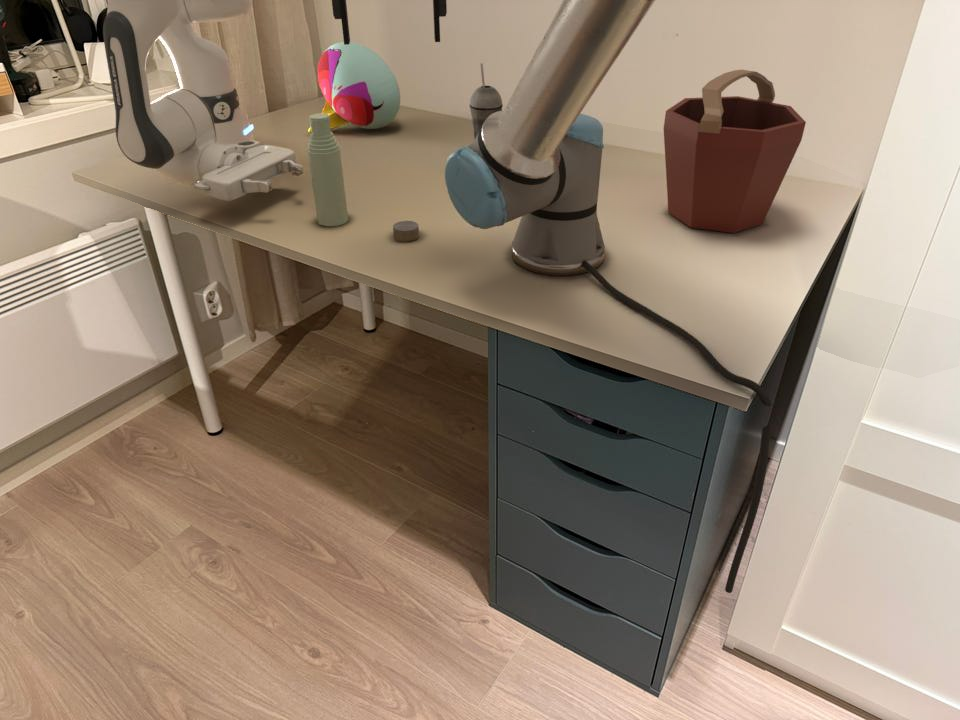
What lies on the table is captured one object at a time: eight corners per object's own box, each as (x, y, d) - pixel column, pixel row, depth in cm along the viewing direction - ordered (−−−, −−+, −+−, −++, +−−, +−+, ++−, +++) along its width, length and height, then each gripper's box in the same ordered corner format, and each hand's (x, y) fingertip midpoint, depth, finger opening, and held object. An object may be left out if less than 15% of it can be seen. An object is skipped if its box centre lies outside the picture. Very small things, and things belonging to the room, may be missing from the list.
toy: (277, 110, 181) (275, 51, 163) (352, 72, 191) (358, 13, 173) (336, 175, 178) (341, 122, 160) (410, 134, 188) (421, 79, 170)
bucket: (710, 250, 119) (740, 96, 105) (622, 208, 134) (638, 69, 120) (804, 218, 129) (843, 75, 115) (713, 183, 145) (736, 53, 131)
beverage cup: (489, 165, 155) (489, 69, 144) (463, 159, 159) (461, 64, 148) (508, 156, 160) (510, 63, 149) (483, 150, 164) (482, 59, 152)
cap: (392, 241, 123) (391, 230, 122) (395, 231, 127) (394, 220, 125) (417, 241, 123) (417, 230, 122) (420, 231, 126) (419, 220, 125)
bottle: (347, 213, 134) (335, 110, 123) (348, 224, 129) (336, 119, 118) (317, 215, 133) (302, 112, 122) (317, 227, 128) (302, 121, 118)
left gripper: (184, 169, 126) (245, 180, 121) (258, 137, 142) (315, 146, 137) (192, 202, 130) (252, 214, 125) (264, 168, 145) (319, 177, 140)
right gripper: (470, -130, 99) (472, 35, 111) (289, -128, 97) (311, 39, 109) (475, -131, 93) (476, 44, 105) (282, -129, 91) (306, 48, 103)
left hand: (285, 178), depth 131 cm, fingers open, 8 cm apart
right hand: (392, 42), depth 107 cm, fingers open, 13 cm apart
